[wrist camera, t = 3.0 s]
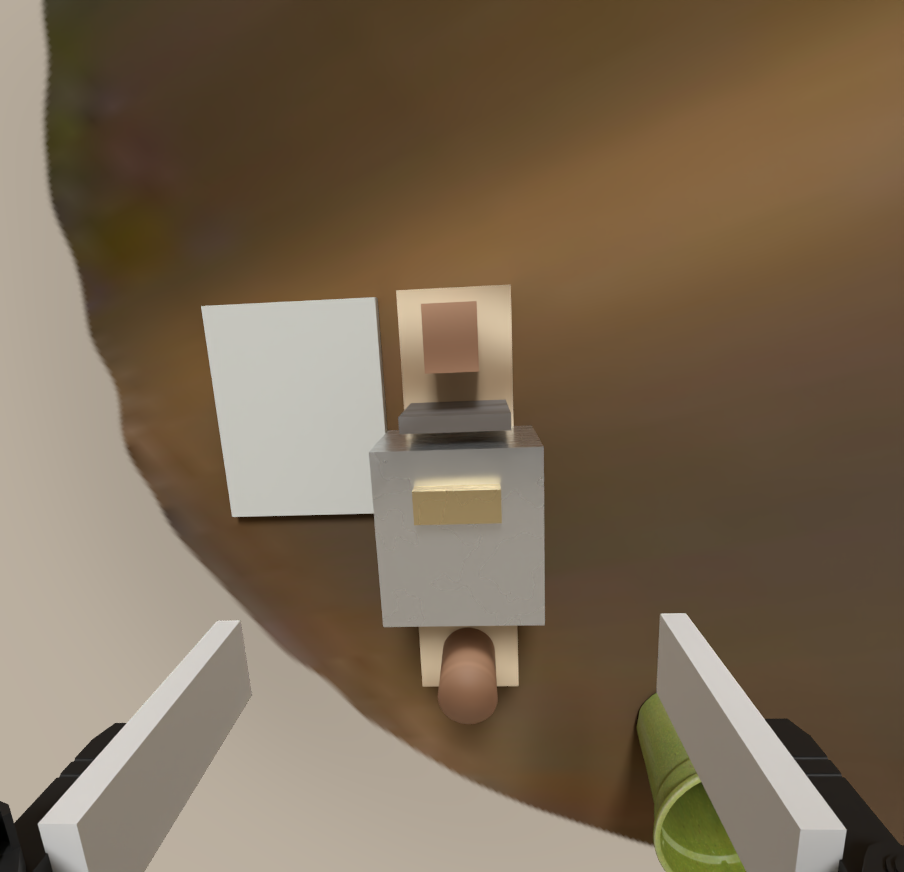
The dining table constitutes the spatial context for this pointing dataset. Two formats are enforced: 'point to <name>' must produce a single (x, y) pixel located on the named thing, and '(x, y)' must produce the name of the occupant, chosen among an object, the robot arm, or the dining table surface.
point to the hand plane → (460, 410)
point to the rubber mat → (297, 403)
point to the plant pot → (681, 801)
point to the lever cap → (460, 527)
